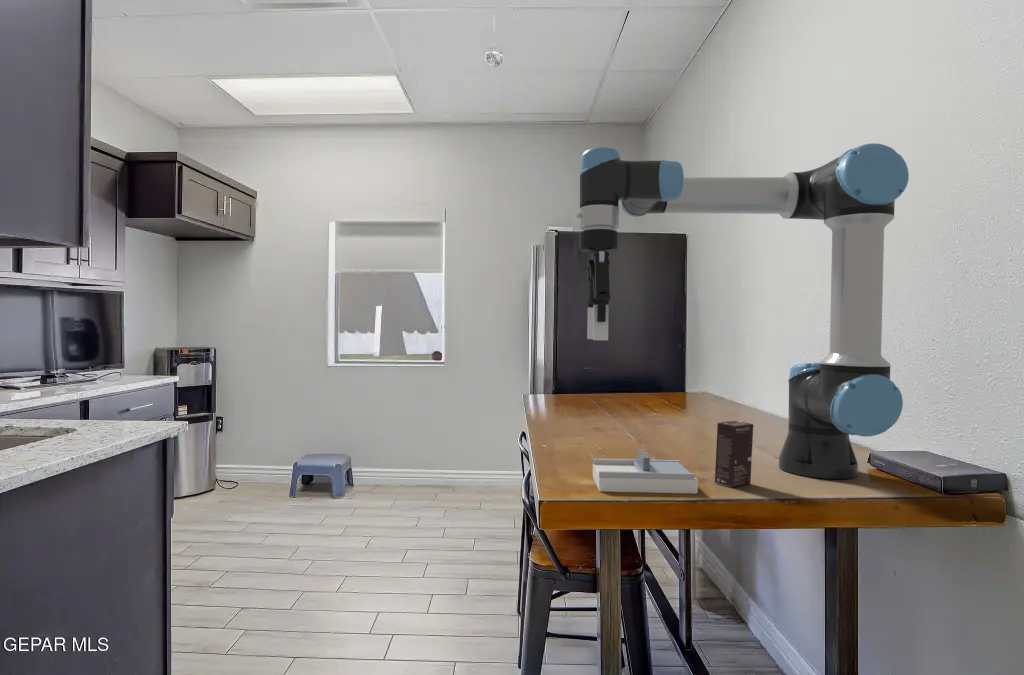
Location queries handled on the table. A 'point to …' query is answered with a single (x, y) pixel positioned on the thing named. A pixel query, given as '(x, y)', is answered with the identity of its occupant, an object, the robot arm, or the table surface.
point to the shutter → (656, 465)
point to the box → (733, 453)
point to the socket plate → (640, 478)
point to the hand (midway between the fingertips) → (597, 339)
